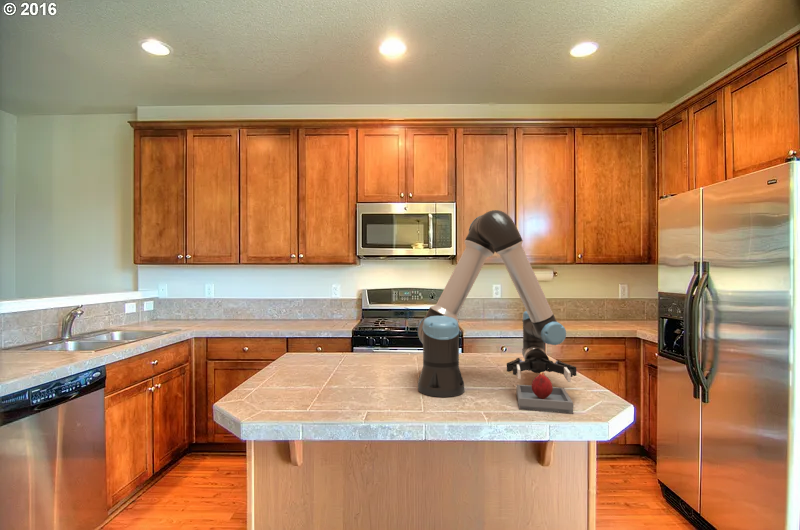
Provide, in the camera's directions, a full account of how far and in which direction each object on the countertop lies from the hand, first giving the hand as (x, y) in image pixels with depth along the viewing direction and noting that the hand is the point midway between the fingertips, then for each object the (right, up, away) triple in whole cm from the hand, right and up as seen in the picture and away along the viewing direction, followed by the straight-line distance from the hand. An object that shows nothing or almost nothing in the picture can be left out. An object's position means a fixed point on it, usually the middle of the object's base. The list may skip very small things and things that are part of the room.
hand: (543, 375), depth 110 cm
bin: (0, -9, +2) cm, 9 cm away
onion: (0, -8, +2) cm, 8 cm away
